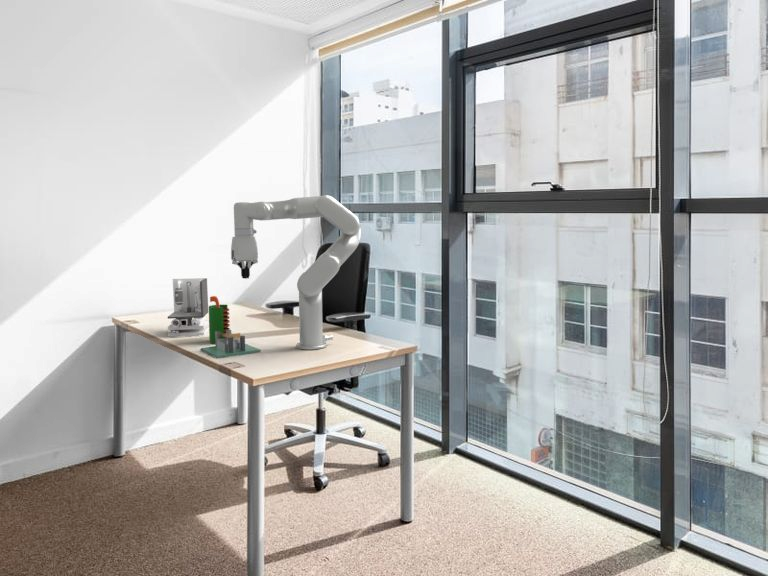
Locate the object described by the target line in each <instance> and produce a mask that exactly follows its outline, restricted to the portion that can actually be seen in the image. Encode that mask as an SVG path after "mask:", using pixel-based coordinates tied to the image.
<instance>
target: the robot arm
mask: <svg viewBox="0 0 768 576" xmlns="http://www.w3.org/2000/svg"><path fill="white" fill-rule="evenodd" d="M314 218H315V219H316V218H324V219H325V220H326V221H327V222H329V223H330V224H332V225H333V226H334V227H335V228H336V229H337V230H339V231H340V235H339V236H338V238H337V239H336V240H335V241H334V242H333V243H332V244H331V245H330V246H329V247H328V248H327V249H326V251H325V252H323V253H322V254H321V255H319V257H318V258H317V259H316V260H315V261H314V262H313V263H312V264H311V265H310V266H309V267H308V268H307V269H306V270H305V272H302V273H301V275H300V276H299V278H298V279H297V283H296V288H297V291H298V317H299V318H298V319H299V323H298V325H299V342H297V343H296V344H295V347H296V348H297V349H300V350H309V351H310V350H311V351H312V350H320V349H324V348H326V347H327V346H328V345H327V341H333V340H334V337H333V335H331V334H330V335H325V334H324V333H323V289H324V287H325V286H326V285H327V284H329V282H330V281H331V280H332V279H333V278H334V277H335V276H336V275H337V274H338V273H339V271H340V267H341V266H342V265H343V264H344V263H345V262H346V261H347V260H348V259H349V258H350V256H351V255H352V254H353V253H354V252H355V251H356V249H357V248H358V246H359V245H360V242H361V237H362V229H361V223H360V219H359V218H358V216H357V215H355V214H354V213H353V212H352V211H350V210H349V209H348V208H346V206H344V205H343V204H342V203H340V201H338V200H337V199H336V198H334V196H331V195H330V194H329V195H328V194H323V195H318V196H306V197H294V198H290V199H287V200H278V201H257V202H256V201H255V202H246V201H245V202H244V201H241V202H239V201H238V202H235V203H234V204H233V223H234V225H233V226H234V227H233V228H234V229H233V230H234V236H232V238H231V247H230V259H231V261H232V265H235V266H238V267H239V268H240V270H241V271H240V273H241V274H240V276H241V278H242V279H245V280H246V279H250V276H251V274H250V273H251V271H250V269H251V268H252V266H253V265H255V264H258V262H259V261H258V258H259V253H258V243H257V238H256V236H255V234H257V230H256V229H255V228H254V220H255V221H273V220H275V221H276V220H287V219H288V220H290V219H291V220H292V219H293V220H298V219H299V220H303V219H314Z"/></svg>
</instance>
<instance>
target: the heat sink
mask: <svg viewBox="0 0 768 576" xmlns="http://www.w3.org/2000/svg"><path fill="white" fill-rule="evenodd" d="M226 332H227V333H232V330H231V329H227V330H226ZM215 342H216V344H215V346H216V347H217V349H219V350H222V351H224V352H228V337H227V338H222V339H220V331H215ZM235 350H240V338H236V339H233V351H235Z"/></svg>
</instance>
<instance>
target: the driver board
mask: <svg viewBox="0 0 768 576" xmlns="http://www.w3.org/2000/svg"><path fill="white" fill-rule="evenodd" d="M240 337H241V338H240V350H235V351H233V338H232V337H228V352H224V351H222V350H219V349H217V347H216V345H213V346H207V347H200V351H201V352H203V353H205V354H207V355H209V354H210V356H211V355H212V357H213V356H214V358H215V357H216V358H215V359H222V358H223V359H224V358H229V357H230V356H231V357H236V356H237V355H238V356H243V355H244V356H245V355H250V354H255V353H256V354H258V353H261V351H262V350H261V349H260V348H258V347H255V346H253V345H249V344H247V343H246V336H245V335H243V334H241V335H240ZM231 357H230V358H231Z"/></svg>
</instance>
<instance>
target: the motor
mask: <svg viewBox="0 0 768 576" xmlns="http://www.w3.org/2000/svg"><path fill="white" fill-rule="evenodd" d="M209 302H210V303H212V302H214V303H215V304H213V305H212V304H211V305H208V320H209V324H208V327H209V330H208V332H209V338H208V339H209V343H210V344H213V345H216V342H215V331H220V333H226V330H227V329H230V320H229V319H230V316H229V315H230V312H229V311H230V308H228V304H220V301H219V298H218V297H217V296H214V295H212V296H209ZM230 330H231V329H230ZM222 338H227V337H223V336H220V339H222Z"/></svg>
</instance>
